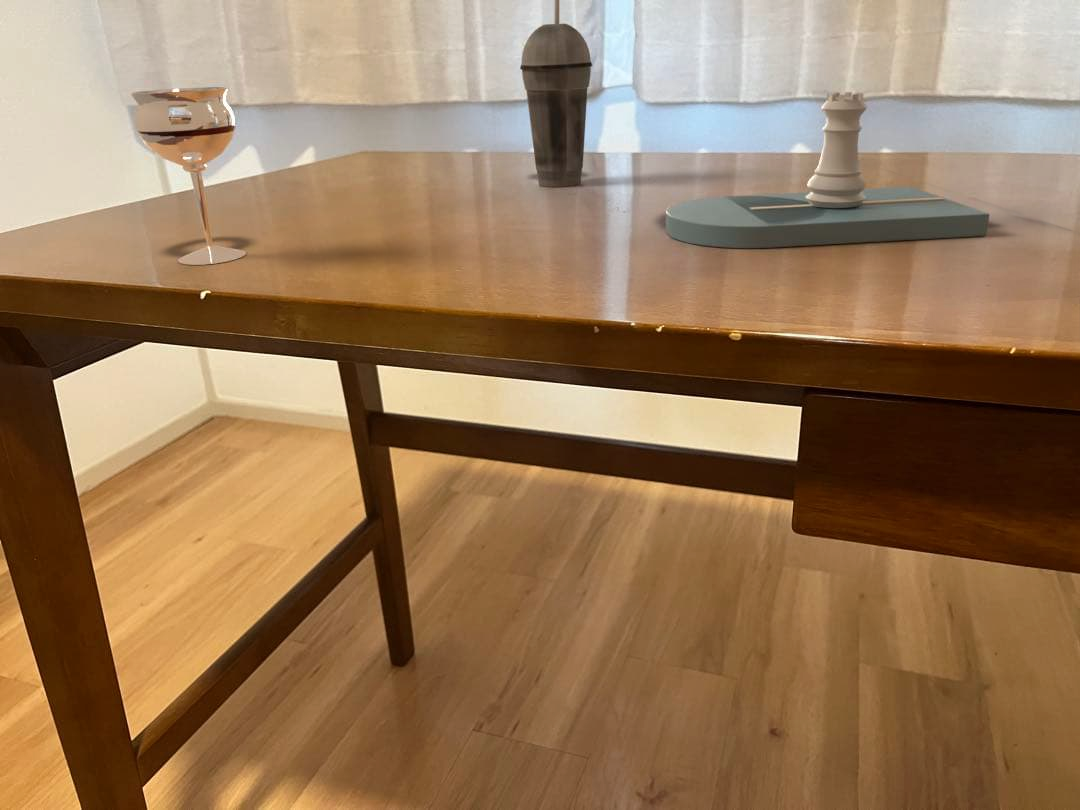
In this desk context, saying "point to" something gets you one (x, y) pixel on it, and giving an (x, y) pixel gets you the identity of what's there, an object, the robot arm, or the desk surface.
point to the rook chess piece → (839, 155)
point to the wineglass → (189, 144)
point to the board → (821, 220)
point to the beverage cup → (557, 100)
